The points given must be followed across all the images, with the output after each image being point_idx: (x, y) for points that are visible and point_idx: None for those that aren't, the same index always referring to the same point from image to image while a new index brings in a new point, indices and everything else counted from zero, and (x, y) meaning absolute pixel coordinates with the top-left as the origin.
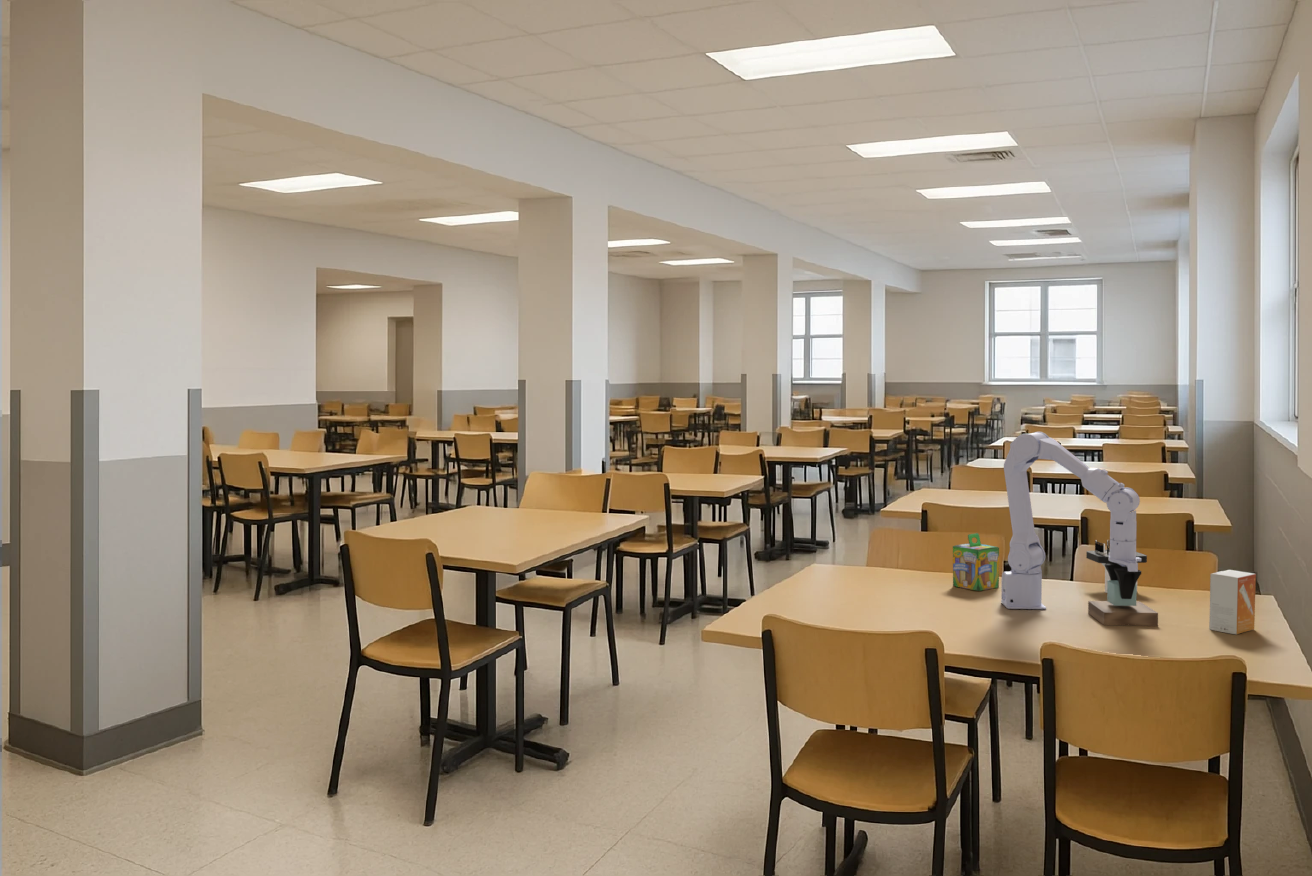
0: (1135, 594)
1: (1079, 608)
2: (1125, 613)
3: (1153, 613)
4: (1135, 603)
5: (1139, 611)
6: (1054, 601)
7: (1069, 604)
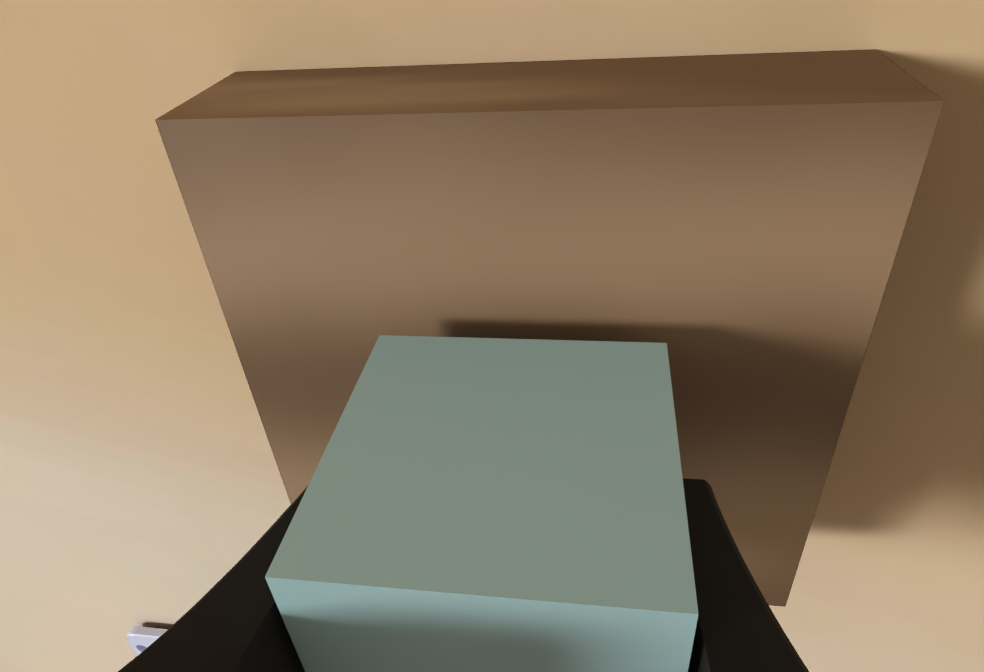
0: (676, 469)
1: (197, 484)
2: (826, 460)
3: (917, 167)
4: (667, 371)
5: (792, 318)
6: (40, 545)
7: (89, 500)
